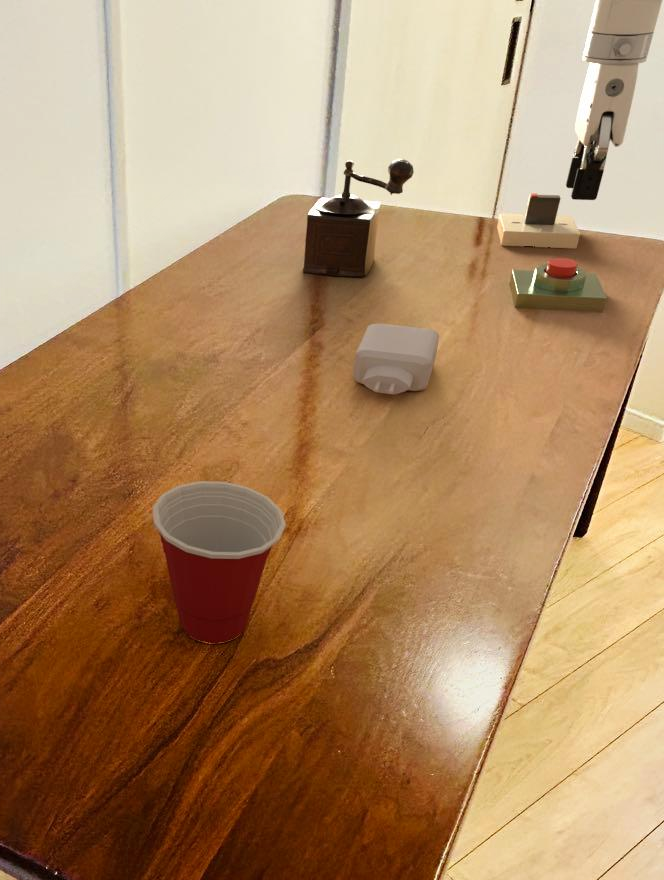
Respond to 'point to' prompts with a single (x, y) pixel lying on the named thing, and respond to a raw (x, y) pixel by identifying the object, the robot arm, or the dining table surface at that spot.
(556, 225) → the cream slotted base block
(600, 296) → the control block
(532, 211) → the upright dark panel
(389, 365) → the charger
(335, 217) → the manual coffee grinder
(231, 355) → the dining table surface
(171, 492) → the plastic cup
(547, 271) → the button
